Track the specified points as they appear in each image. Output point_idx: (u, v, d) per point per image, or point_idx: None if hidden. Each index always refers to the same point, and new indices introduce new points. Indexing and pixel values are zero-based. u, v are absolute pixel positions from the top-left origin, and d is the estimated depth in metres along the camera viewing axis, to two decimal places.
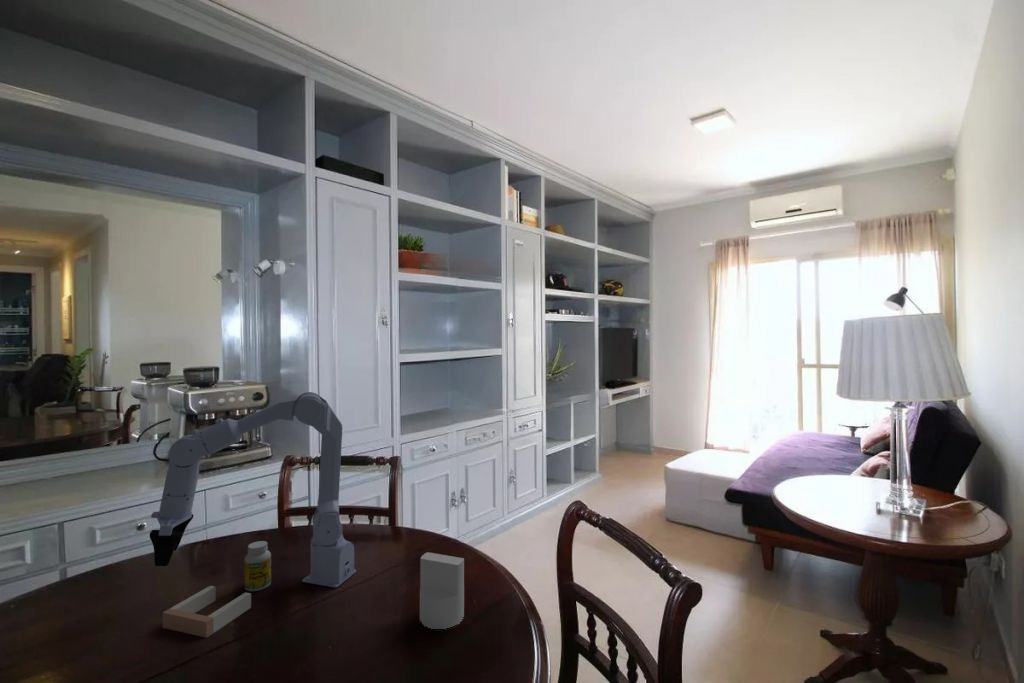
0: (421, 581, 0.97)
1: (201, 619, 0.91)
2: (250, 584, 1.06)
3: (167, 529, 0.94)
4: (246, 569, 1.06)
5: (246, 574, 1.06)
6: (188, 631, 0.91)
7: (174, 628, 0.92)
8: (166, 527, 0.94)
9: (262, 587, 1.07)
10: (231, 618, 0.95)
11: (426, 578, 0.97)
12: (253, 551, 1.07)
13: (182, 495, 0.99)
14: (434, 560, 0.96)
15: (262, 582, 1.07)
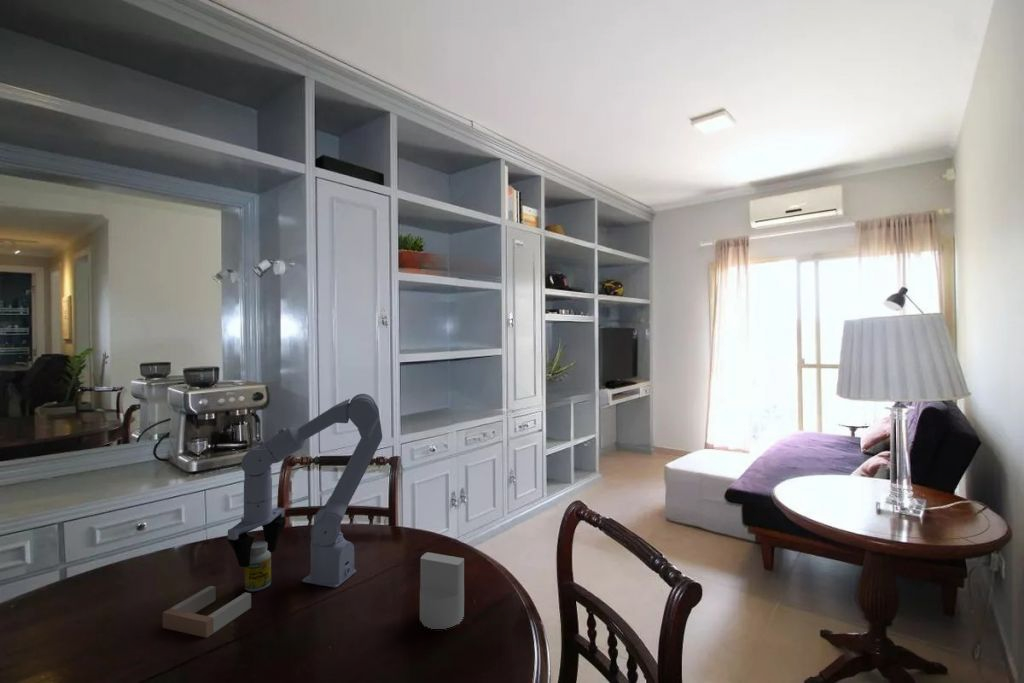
0: (421, 581, 0.97)
1: (201, 619, 0.91)
2: (250, 584, 1.06)
3: (232, 534, 1.02)
4: (246, 569, 1.06)
5: (246, 574, 1.06)
6: (188, 631, 0.91)
7: (174, 628, 0.92)
8: (231, 532, 1.02)
9: (262, 587, 1.07)
10: (231, 618, 0.95)
11: (426, 578, 0.97)
12: (253, 551, 1.07)
13: (260, 501, 1.06)
14: (434, 559, 0.96)
15: (262, 582, 1.07)
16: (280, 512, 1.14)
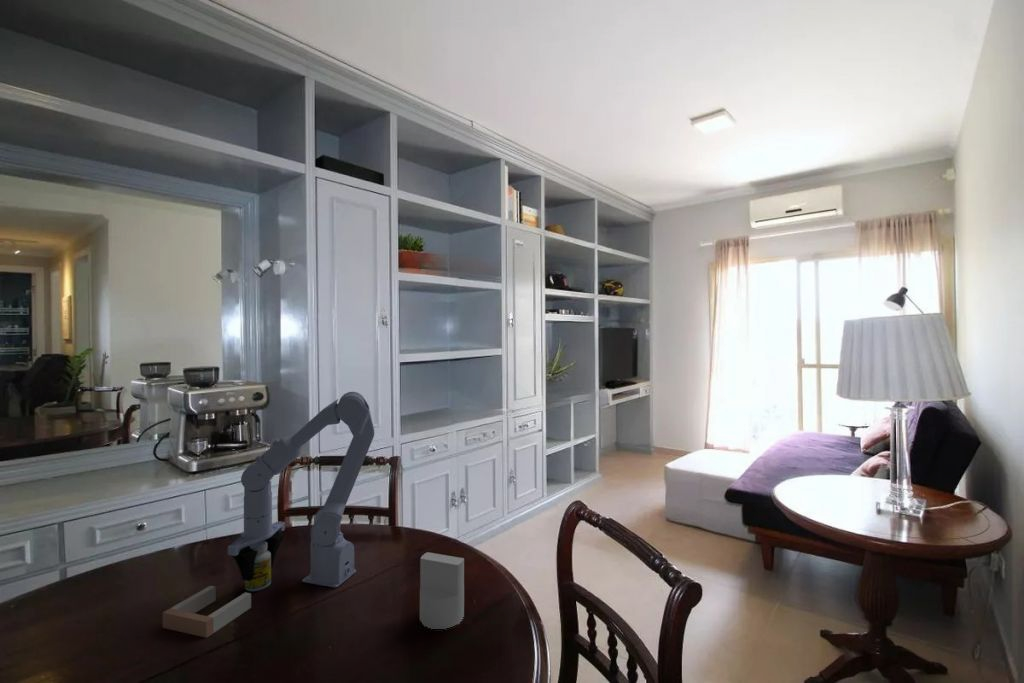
0: (421, 581, 0.97)
1: (201, 619, 0.91)
2: (250, 584, 1.06)
3: (232, 550, 1.02)
4: None
5: None
6: (188, 631, 0.91)
7: (174, 628, 0.92)
8: (231, 548, 1.02)
9: (262, 587, 1.07)
10: (231, 618, 0.95)
11: (426, 578, 0.97)
12: None
13: (260, 516, 1.06)
14: (434, 560, 0.96)
15: (262, 582, 1.07)
16: (280, 526, 1.14)
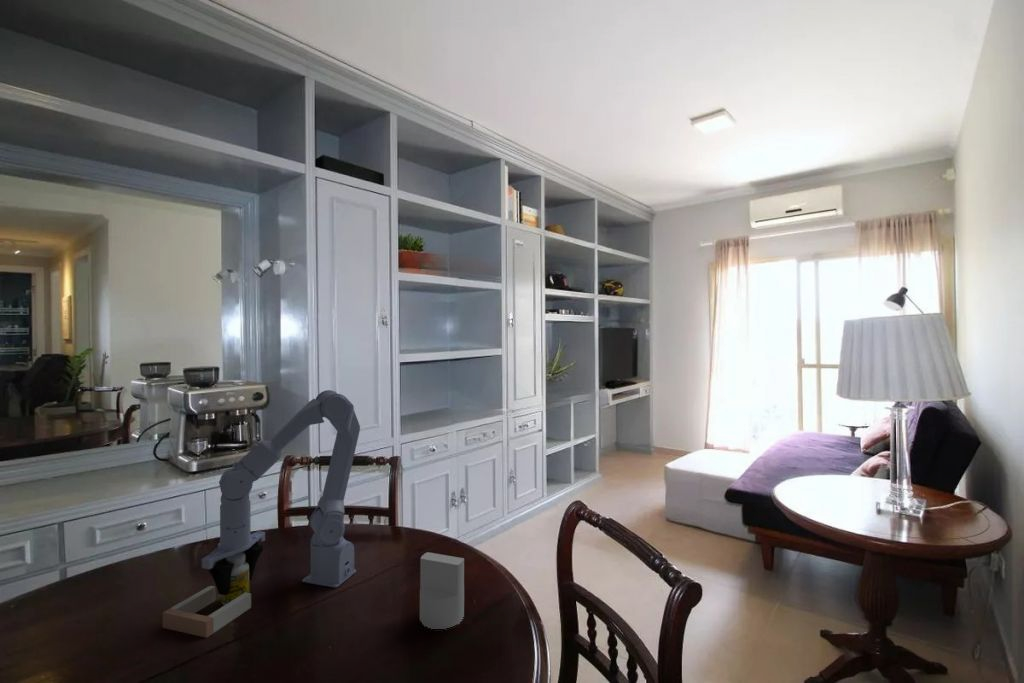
0: (421, 581, 0.97)
1: (201, 619, 0.91)
2: (226, 599, 1.00)
3: (206, 563, 0.96)
4: None
5: None
6: (188, 631, 0.91)
7: (174, 628, 0.92)
8: (205, 561, 0.96)
9: None
10: (231, 618, 0.95)
11: (426, 578, 0.97)
12: None
13: (241, 526, 1.01)
14: (434, 559, 0.96)
15: None
16: (260, 536, 1.08)
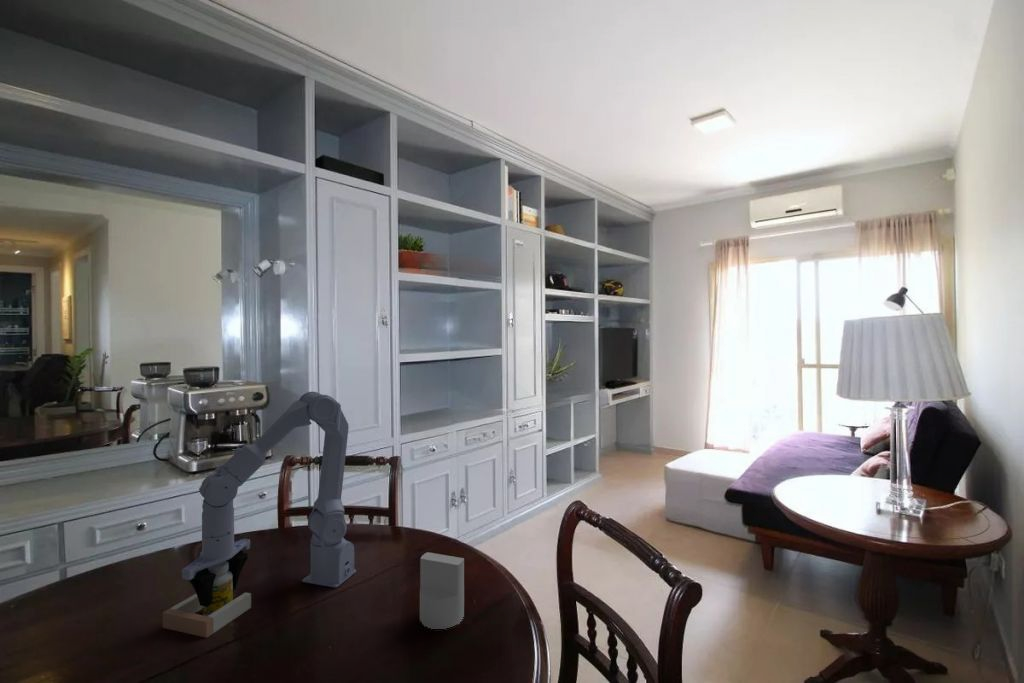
0: (421, 581, 0.97)
1: (201, 619, 0.91)
2: (208, 610, 0.96)
3: (186, 573, 0.92)
4: None
5: None
6: (188, 631, 0.91)
7: (174, 628, 0.92)
8: (185, 571, 0.92)
9: None
10: (231, 618, 0.95)
11: (426, 578, 0.97)
12: None
13: (226, 533, 0.97)
14: (434, 559, 0.96)
15: None
16: (245, 544, 1.04)
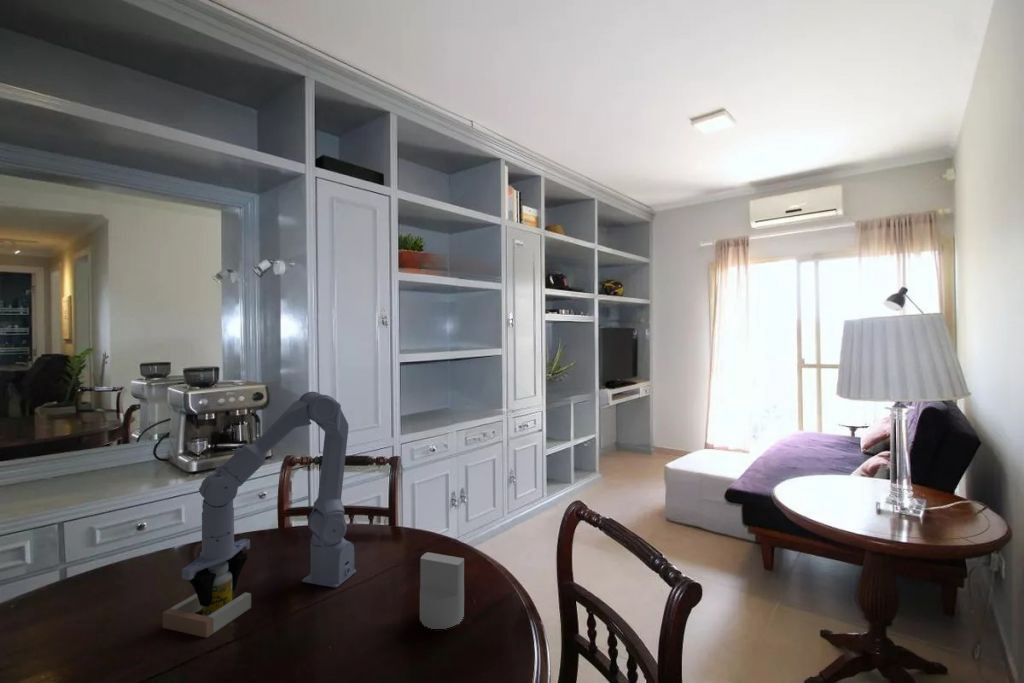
0: (421, 581, 0.97)
1: (201, 619, 0.91)
2: (207, 610, 0.96)
3: (186, 573, 0.92)
4: None
5: None
6: (188, 631, 0.91)
7: (174, 628, 0.92)
8: (185, 571, 0.92)
9: None
10: (231, 618, 0.95)
11: (426, 578, 0.97)
12: (210, 572, 0.97)
13: (226, 533, 0.97)
14: (434, 559, 0.96)
15: None
16: (244, 544, 1.04)
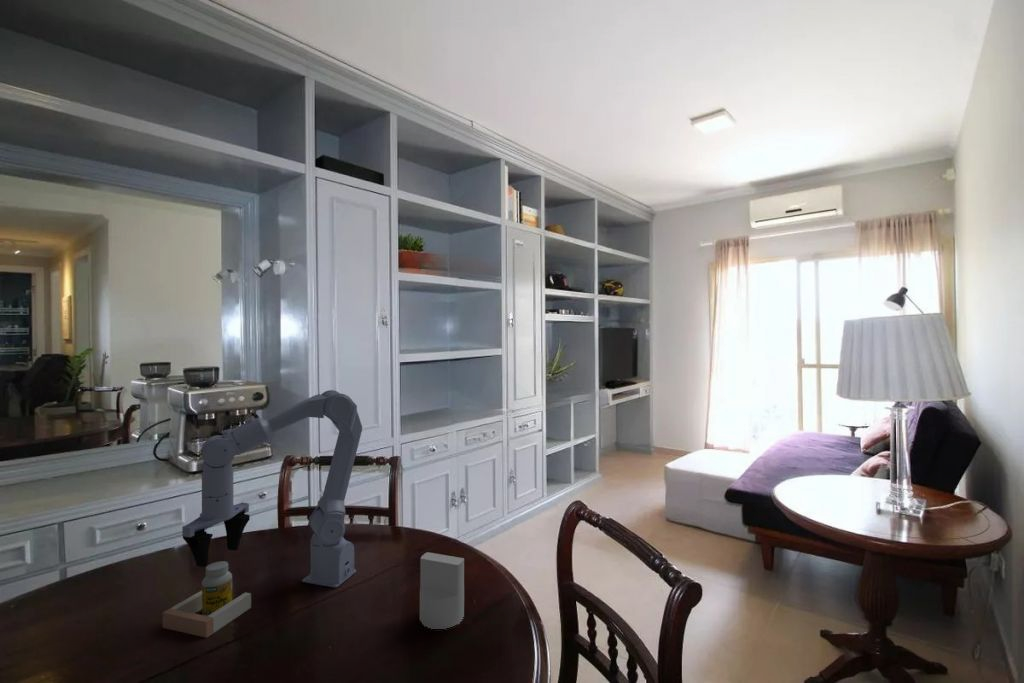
0: (421, 581, 0.97)
1: (201, 619, 0.91)
2: (207, 610, 0.96)
3: (187, 530, 0.93)
4: (203, 593, 0.96)
5: (203, 598, 0.97)
6: (188, 631, 0.91)
7: (174, 628, 0.92)
8: (186, 528, 0.93)
9: None
10: (231, 618, 0.95)
11: (426, 578, 0.97)
12: (210, 573, 0.97)
13: (224, 494, 0.99)
14: (434, 559, 0.96)
15: None
16: (244, 507, 1.05)
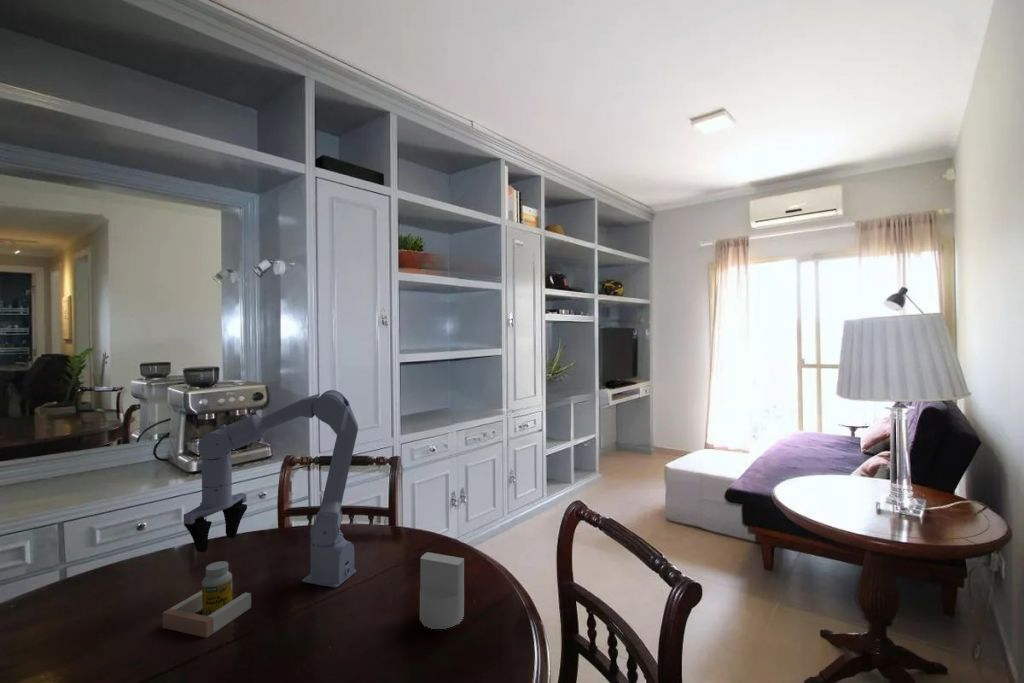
0: (421, 581, 0.97)
1: (201, 619, 0.91)
2: (207, 610, 0.96)
3: (188, 518, 1.00)
4: (203, 593, 0.96)
5: (203, 598, 0.97)
6: (188, 631, 0.91)
7: (174, 628, 0.92)
8: (187, 516, 1.00)
9: None
10: (231, 618, 0.95)
11: (426, 578, 0.97)
12: (210, 573, 0.97)
13: (218, 486, 1.05)
14: (434, 559, 0.96)
15: None
16: (241, 497, 1.12)
